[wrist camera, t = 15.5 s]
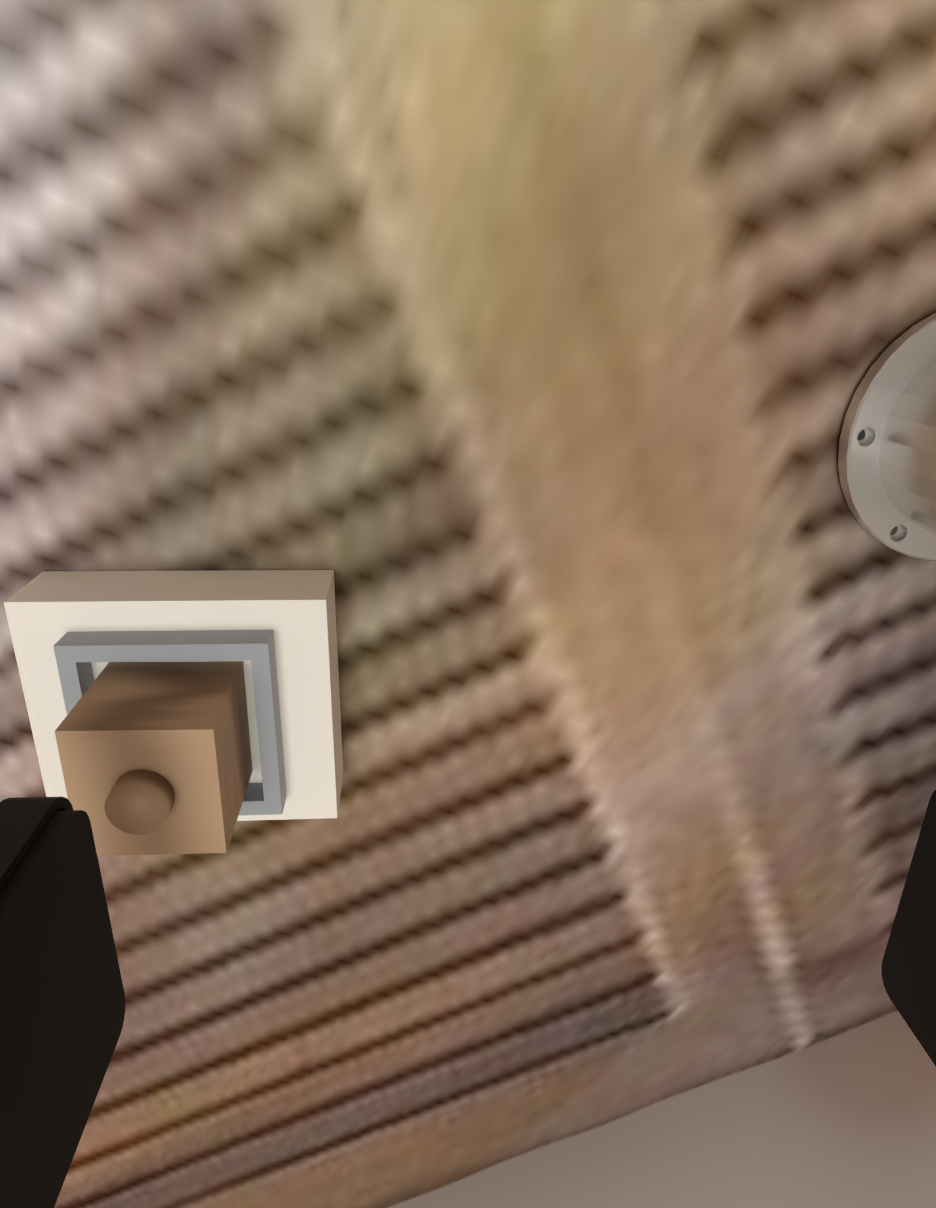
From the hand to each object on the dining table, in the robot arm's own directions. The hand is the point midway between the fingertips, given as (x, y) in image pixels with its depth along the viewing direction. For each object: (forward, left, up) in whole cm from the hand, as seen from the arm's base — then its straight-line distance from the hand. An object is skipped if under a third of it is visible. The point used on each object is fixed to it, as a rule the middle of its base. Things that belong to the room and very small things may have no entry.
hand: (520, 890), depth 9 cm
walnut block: (+12, +13, -26) cm, 32 cm away
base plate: (+12, +13, -30) cm, 35 cm away
